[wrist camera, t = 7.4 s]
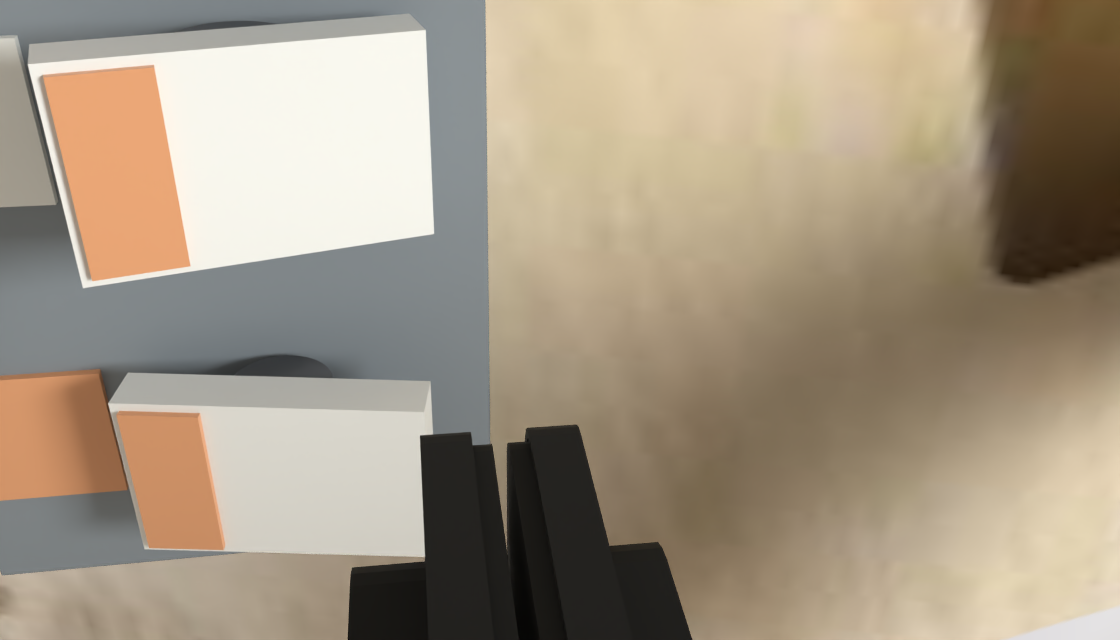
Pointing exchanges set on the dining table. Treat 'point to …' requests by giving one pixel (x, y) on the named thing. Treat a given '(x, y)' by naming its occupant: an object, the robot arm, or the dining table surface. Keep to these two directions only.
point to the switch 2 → (275, 460)
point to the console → (218, 286)
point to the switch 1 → (237, 142)
